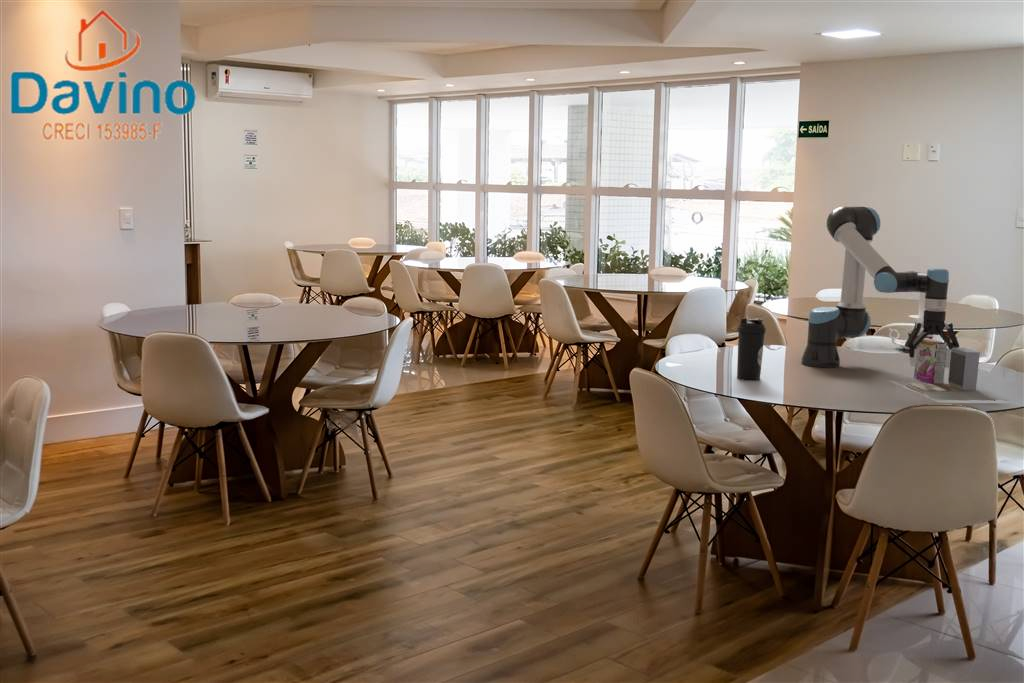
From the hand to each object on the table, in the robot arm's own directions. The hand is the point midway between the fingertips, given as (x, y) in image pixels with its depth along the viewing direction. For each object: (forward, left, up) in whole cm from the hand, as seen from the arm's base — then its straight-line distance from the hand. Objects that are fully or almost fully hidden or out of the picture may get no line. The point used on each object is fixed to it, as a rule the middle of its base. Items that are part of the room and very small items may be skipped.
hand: (930, 366), depth 375 cm
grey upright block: (+6, -13, -6) cm, 15 cm away
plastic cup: (+22, +50, -7) cm, 55 cm away
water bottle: (-68, +6, -7) cm, 69 cm away
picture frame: (-2, -13, -7) cm, 14 cm away
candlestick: (+33, +75, -7) cm, 82 cm away
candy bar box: (0, 0, -7) cm, 7 cm away
